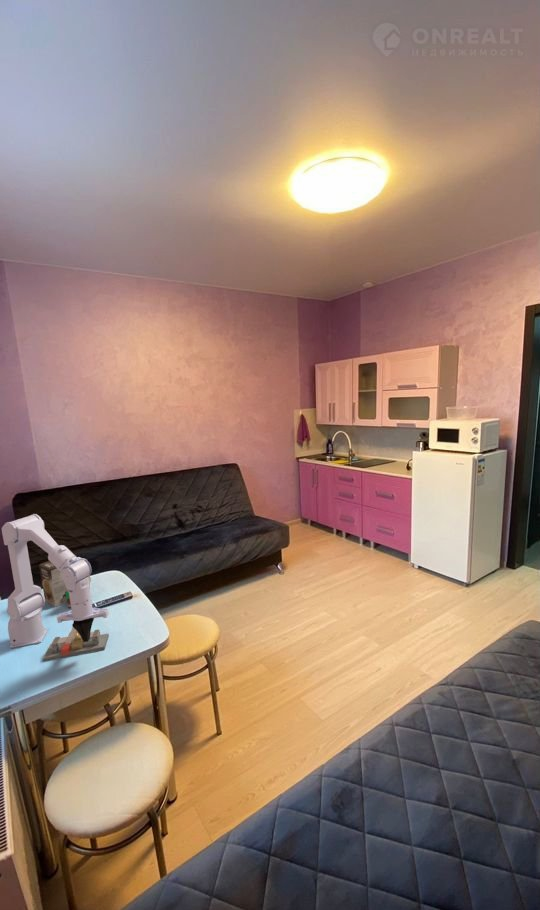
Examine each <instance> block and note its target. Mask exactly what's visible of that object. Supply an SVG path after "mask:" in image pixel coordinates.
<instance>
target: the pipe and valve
mask: <svg viewBox="0 0 540 910" xmlns="http://www.w3.org/2000/svg"><path fill="white" fill-rule="evenodd" d="M69 635H70V632H69V633H68V635H67V636H65V637H60V636H56V637H54V639H52V641H51V643H50V644H51V648H52V652H53V653H58V651H61V649H62V647H63V645H64V644H65V643H66V641H67V639H68V637H69ZM100 635H101V630H100V629H95V630H94V631H91V632H90V639H89V641H88V642H83V640H82V638H81V636H80V634H79V633H78V634H77V635H76V637H75V639H74V642H73V644H72V649H71V650H76V649H81V648H83V647H84V646H89V645H93V646H95V645H98V644H99V643H100V640H101V636H100Z"/></svg>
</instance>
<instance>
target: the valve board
mask: <svg viewBox="0 0 540 910" xmlns="http://www.w3.org/2000/svg"><path fill="white" fill-rule="evenodd" d="M100 636H101V640H100V643H99V644H98V645H95V646H93V645H89V646H84V647H83V648H81V649H76V650H71V651H70V654H67V655H62V653H61V651H58V653H53V652H52V648H51V643H50V644H49V646H48V647H47V650H46V651H45V654H44V656H43V658H42V660H43V662H46V661H51V660H56V659H62V658H67V657H72V656H73V657H74V656H78V655H83V654H88V653H92V652H97V651H103V650H105V649H106V646H107V643H108V640H109V637H110V635H109V633H103V634H100Z"/></svg>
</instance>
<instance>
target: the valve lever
mask: <svg viewBox="0 0 540 910" xmlns="http://www.w3.org/2000/svg"><path fill="white" fill-rule="evenodd" d="M69 633H70V635H69V634H68V635H69V637H68V636H67V637H68V639H67V641H66V643H65V644H64V645H63V647H62V649H61V653H62V655H67V654H70V651H71V649H72V644H73V642H74V639H75V637H76V635H77V634H78V632H77V631H76V630H75V629H74V628H73V627H72V628H71V630H70V631H69Z"/></svg>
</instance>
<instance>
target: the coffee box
mask: <svg viewBox="0 0 540 910" xmlns="http://www.w3.org/2000/svg"><path fill="white" fill-rule="evenodd" d="M38 567H39V573H40V580H41V585H42V593H43V595H44V597H45V603H46V604H47V603H48V604H49V605H51V606H53V607H54V608H57V607H59V606H61V605H64V604H65V603H68V602H67V598H66V594H65V591H63V588H64V586H66V585H65V582H64V581H63V579H62V576H61V574H62V572H61V571H60V570H59V569H58V568H56V567H55V566H54V565H53V564H52V563H51V562H50V561H49V560H48V561H46V562H45V561H44V562H42V563H40V564H38Z"/></svg>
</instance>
